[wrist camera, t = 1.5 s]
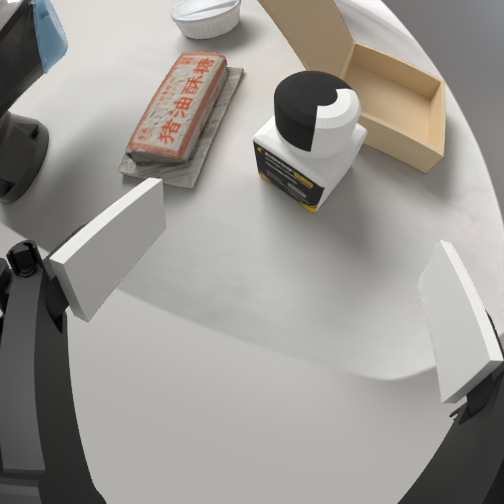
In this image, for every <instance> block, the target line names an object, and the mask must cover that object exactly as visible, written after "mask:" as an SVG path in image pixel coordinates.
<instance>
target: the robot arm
mask: <svg viewBox="0 0 504 504" xmlns="http://www.w3.org/2000/svg"><path fill="white" fill-rule="evenodd" d="M67 48H68V42H67V38H66V35H65V32H64V30H63V28H62V25H61V22H60V20H59V18H58V16H57V13H56V11H55V9H54V8H53V5H52V3H51V2H50V0H0V201H1V202H4V203H7V204H8V203H12V202H14V201H16V200H17V199H18V198H19V197H20V196H21V195H22V194H23V193H24V192H25V191H26V189H27V188H28V187H29V185H30V184H31V182H32V181H33V179H34V177H35V176H36V174H37V172H38V170H39V168H40V166H41V163H42V161H43V158H44V156H45V152H46V149H47V145H48V130H47V128H46V127H45V126H44V125H43V124H42V123H40V122H39V121H38V120H35V119H31V118H27V117H23V116H19V115H15V114H12V113H10V112H9V111H8V109H9V108H10V107H11V106H12V105H13V104H14V103H15V102H16V101H17V99H18V98H19V97H20V96H21V95H22V94H23V93H24V92H25V91H26V90H27V89H28V88H29V87H30V86H31V85H32V84H33V83H34V82H36V81H37V79H39V78H40V77H41V76H42V75H43V74H44V73H45V74H46V73H47V72H48V70H49V69H50V68H51V67H52V66H53V65H54V64H55V63H56V62H58V61H59V60H60V59H61V58H62V57H63V56H64V55H65V53H66V51H67ZM165 229H166V225H165V212H164V196H163V179H156V178H148V179H146V180H145V181H144V182H142V183H141V184H139V185H138V186H136V187H135V188H134V189H132V190H131V191H130V192H128V193H127V194H125V195H124V196H123V197H121V198H120V199H119V200H117V201H116V202H115V203H114V204H112V205H111V206H110V207H108V208H107V209H106V210H105V211H103V212H102V213H101V214H99V215H98V216H97V217H96V218H95V219H93V220H92V221H91V222H89V223H87V224H85V225H83V226H81V227H79V228H78V229H77V230H76V231H75V232H74V233H72V235H70V236H69V237H68V238H67V239H65V241H63V242H62V243H61V244H60V245H59V246H58V247H57V248H55V249H54V250H53V251H52V252H51V253H50V254H49V255H48V256H47V257H46V258H45V259H44V260H43V261H42V259H41V256H40V253H39V251H38V248H37V245H36V243H35V242H34V241H32V240H26V241H22V242H20V243H18V244H16V245H15V246H13V247H12V248H11V249H10V250H9V252H8V253H7V255H6V256H7V259H8V261H9V263H10V265H11V268H12V269H10V268H9V266H8V264H7V262H6V260H5V259H4V258H0V309H1V311H2V312H3V314H2V316H1V317H0V504H106V501H105V500H104V498H103V497H102V495H101V494H100V493H99V492H98V491H97V490H96V488H95V486H94V484H93V482H92V479H91V476H90V472H89V469H88V466H87V462H86V459H85V455H84V451H83V447H82V443H81V438H80V435H79V430H78V424H77V419H76V414H75V408H74V402H73V394H72V387H71V378H70V368H69V356H68V335H67V314H66V312H65V309H66V308H67V307H68V306H70V308H71V310H72V312H73V314H74V315H75V316H76V317H78V318H80V319H82V320H85V321H86V322H89V321H90V320H91V318H92V317H93V316H94V314H95V313H96V311H97V310H98V309H99V308H100V306H101V305H102V304H103V303H104V301H105V300H106V299H107V297H108V296H109V295H110V294H111V292H112V291H113V290H114V289H115V287H116V286H117V285H118V284H119V283H120V281H121V280H122V279H123V278H124V276H125V275H126V274H127V273H128V272H129V270H130V269H131V268H132V267H133V266H134V265H135V263H136V262H137V261H138V260H139V259H140V257H141V256H142V255H143V254H144V253H145V252H146V251H147V249H148V248H149V247H150V246H151V245H152V244H153V243H154V242H155V240H156V239H157V238H158V237H159V236H160V235H161V234H162V233H163V231H164V230H165ZM416 286H417V289H418V292H419V296H420V299H421V303H422V306H423V310H424V314H425V317H426V321H427V325H428V329H429V334H430V338H431V342H432V347H433V352H434V357H435V362H436V367H437V373H438V379H439V386H440V393H441V400H442V403H457V402H458V401H459V400H460V399H461V398H463V397H464V396H465V395H466V396H467V402H466V403H465V404H463V405H462V406H461V407H459V408H458V409H457V410H455V411H454V412H452V413H451V415H450V416H449V417H452V416H454V415H455V414H457V413H458V415H457V417H456V418H455V419H453V420H454V423H453V424H452V426H451V428H450V430H449V431H448V433H447V435H446V437H445V438H444V440H443V442H442V443H441V445H440V447H439V448H438V450H437V451H436V453H435V454H434V456H433V458H432V459H431V461H430V462H429V464H428V465H427V467H426V468H425V469H424V471H423V472H422V474H421V475H420V476H419V478H418V479H417V480H416V482H415V483H414V484H413V485H412V487H411V488H410V489H409V490H408V492H407V493H406V494H405V495H404V497H403V498H402V499H401V500H400V501H399V502H398V504H504V352H503V348H502V346H501V343H500V340H499V338H498V334H497V332H496V330H495V326H494V324H493V321H492V319H491V317H490V316H489V314H488V313H487V311H486V310H485V308H484V306H483V304H482V302H481V299H480V297H479V295H478V293H477V291H476V289H475V287H474V285H473V283H472V281H471V279H470V277H469V275H468V273H467V271H466V269H465V267H464V265H463V263H462V261H461V260H460V258H459V256H458V254H457V252H456V251H455V249H454V247H453V246H452V244H451V243H448V242H445V241H442V240H439V241H438V243H437V245H436V247H435V250H434V252H433V254H432V256H431V258H430V259H429V261H428V263H427V265H426V267H425V269H424V271H423V273H422V275H421V276H420V278H419V280H418V282H417V284H416Z"/></svg>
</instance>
